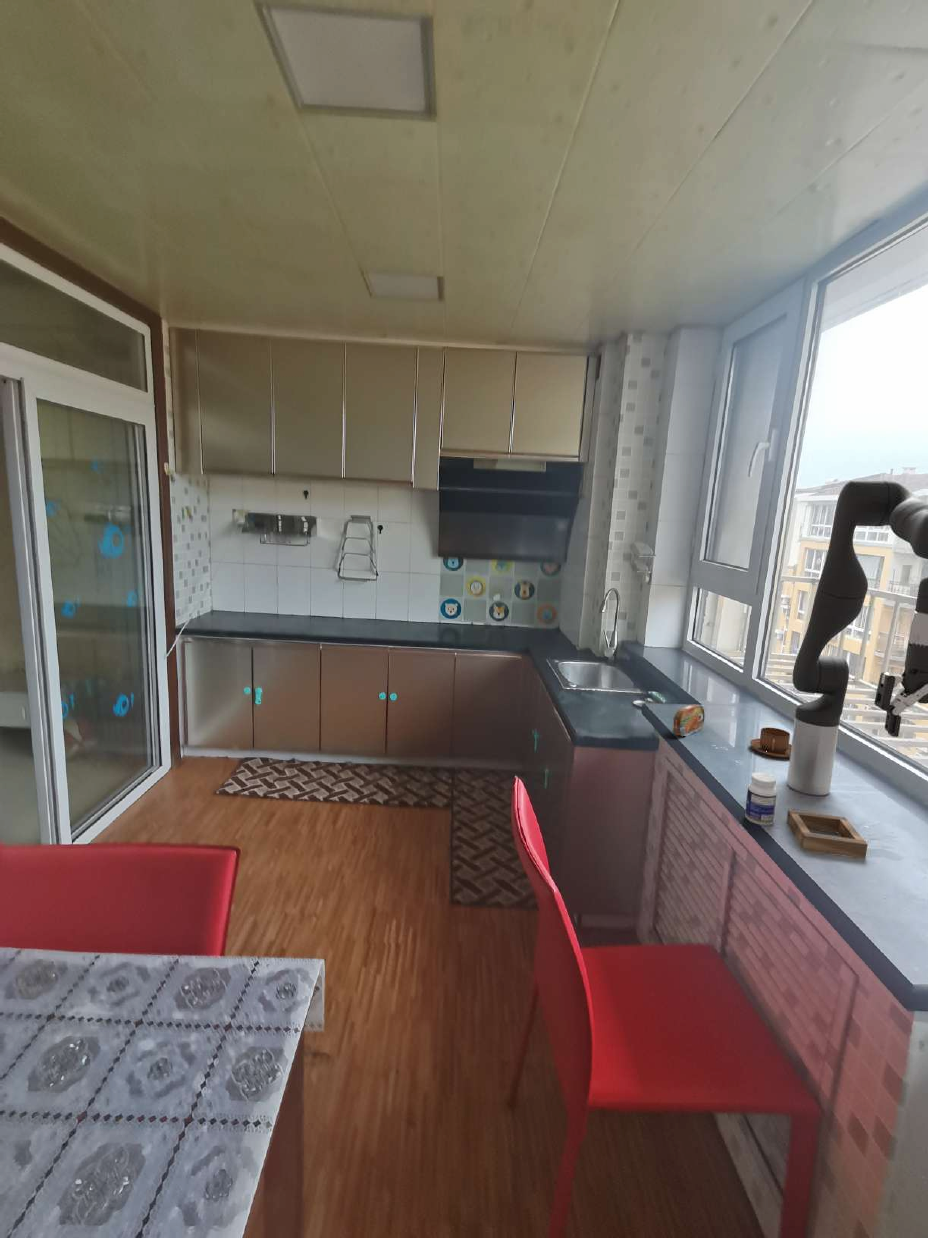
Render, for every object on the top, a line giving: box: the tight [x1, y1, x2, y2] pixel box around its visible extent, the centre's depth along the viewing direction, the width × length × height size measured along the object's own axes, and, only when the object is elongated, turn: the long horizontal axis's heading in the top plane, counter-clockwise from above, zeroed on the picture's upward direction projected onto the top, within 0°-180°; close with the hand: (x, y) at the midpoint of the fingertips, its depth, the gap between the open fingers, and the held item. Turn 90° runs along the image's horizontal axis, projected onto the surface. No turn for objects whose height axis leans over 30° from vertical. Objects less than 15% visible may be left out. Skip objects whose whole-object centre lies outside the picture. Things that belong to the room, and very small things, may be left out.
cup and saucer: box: [749, 727, 792, 758], centre depth 167 cm, size 12×12×6 cm
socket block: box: [786, 809, 869, 860], centre depth 121 cm, size 11×11×3 cm
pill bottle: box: [744, 771, 778, 826], centre depth 128 cm, size 6×6×10 cm
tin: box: [673, 704, 706, 737], centre depth 181 cm, size 15×3×8 cm, turn 131°
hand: (921, 738), depth 97 cm, fingers open, 8 cm apart
